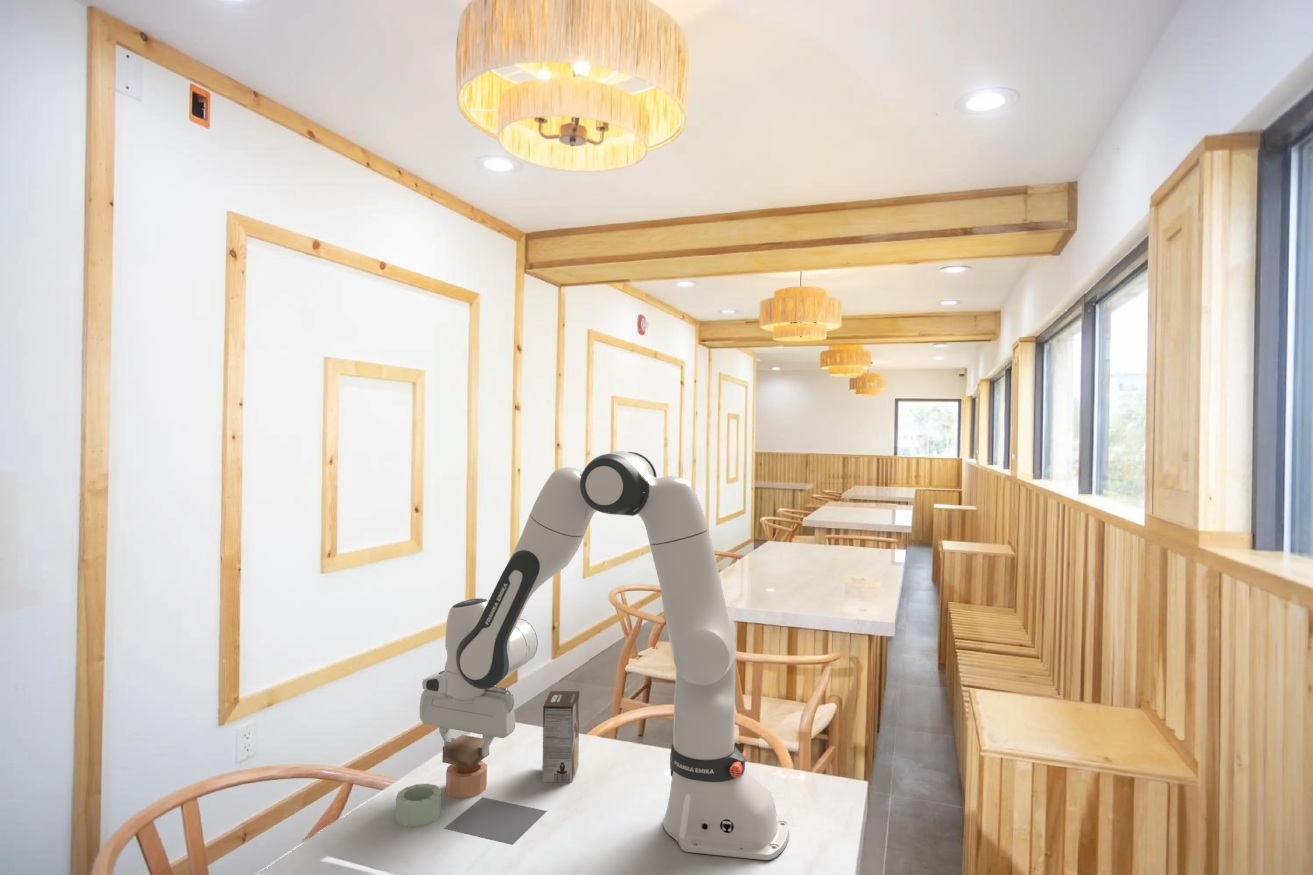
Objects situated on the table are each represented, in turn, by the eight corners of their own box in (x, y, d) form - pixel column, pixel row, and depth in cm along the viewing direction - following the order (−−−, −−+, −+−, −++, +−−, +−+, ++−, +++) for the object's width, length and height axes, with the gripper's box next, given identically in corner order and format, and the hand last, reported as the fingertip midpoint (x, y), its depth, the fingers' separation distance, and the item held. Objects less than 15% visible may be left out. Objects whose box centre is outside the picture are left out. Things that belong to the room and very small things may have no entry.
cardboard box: (489, 754, 145) (489, 739, 145) (470, 767, 139) (470, 752, 139) (461, 749, 147) (462, 734, 147) (442, 762, 141) (442, 746, 141)
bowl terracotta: (493, 785, 145) (494, 763, 146) (471, 803, 138) (472, 779, 138) (461, 778, 148) (462, 756, 148) (438, 796, 141) (438, 772, 141)
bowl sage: (448, 812, 135) (449, 788, 135) (422, 832, 128) (422, 807, 128) (414, 804, 138) (415, 780, 138) (387, 824, 130) (387, 799, 130)
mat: (546, 814, 135) (547, 810, 135) (512, 847, 124) (512, 844, 124) (482, 800, 140) (482, 796, 140) (443, 831, 128) (443, 827, 128)
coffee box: (549, 764, 155) (550, 689, 155) (578, 765, 155) (580, 690, 155) (541, 785, 146) (542, 705, 146) (573, 785, 146) (574, 705, 146)
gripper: (522, 683, 143) (520, 754, 143) (435, 670, 150) (433, 737, 150) (504, 694, 137) (503, 767, 137) (415, 679, 144) (413, 749, 144)
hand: (466, 751), depth 143 cm, fingers closed on cardboard box, 6 cm apart
